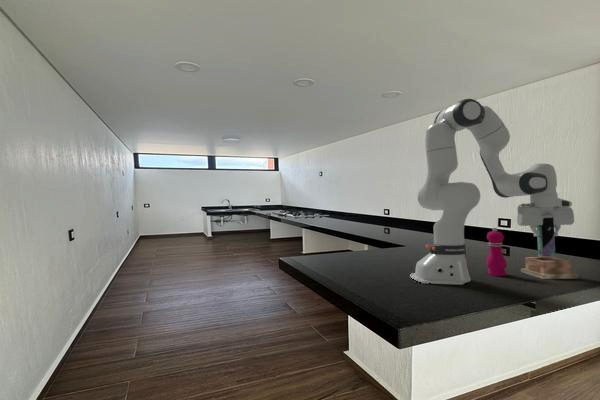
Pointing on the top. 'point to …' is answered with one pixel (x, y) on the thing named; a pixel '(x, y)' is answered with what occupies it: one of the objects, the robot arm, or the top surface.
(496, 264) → the pepper mill
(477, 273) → the top surface
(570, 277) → the can holder
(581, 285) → the top surface
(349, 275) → the top surface
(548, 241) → the spray can
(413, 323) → the top surface
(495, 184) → the robot arm
